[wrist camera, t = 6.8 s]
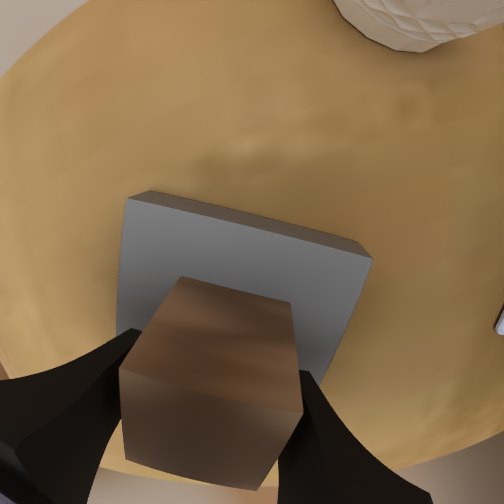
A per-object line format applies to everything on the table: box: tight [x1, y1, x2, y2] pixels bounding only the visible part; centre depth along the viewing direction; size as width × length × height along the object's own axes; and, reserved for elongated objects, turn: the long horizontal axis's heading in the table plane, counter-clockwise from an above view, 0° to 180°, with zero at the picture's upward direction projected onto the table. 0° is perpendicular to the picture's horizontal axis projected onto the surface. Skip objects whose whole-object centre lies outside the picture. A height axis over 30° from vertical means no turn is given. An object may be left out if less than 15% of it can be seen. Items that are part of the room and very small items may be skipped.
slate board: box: [116, 191, 373, 386], centre depth 14 cm, size 10×10×2 cm
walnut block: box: [119, 276, 303, 491], centre depth 10 cm, size 4×4×6 cm
